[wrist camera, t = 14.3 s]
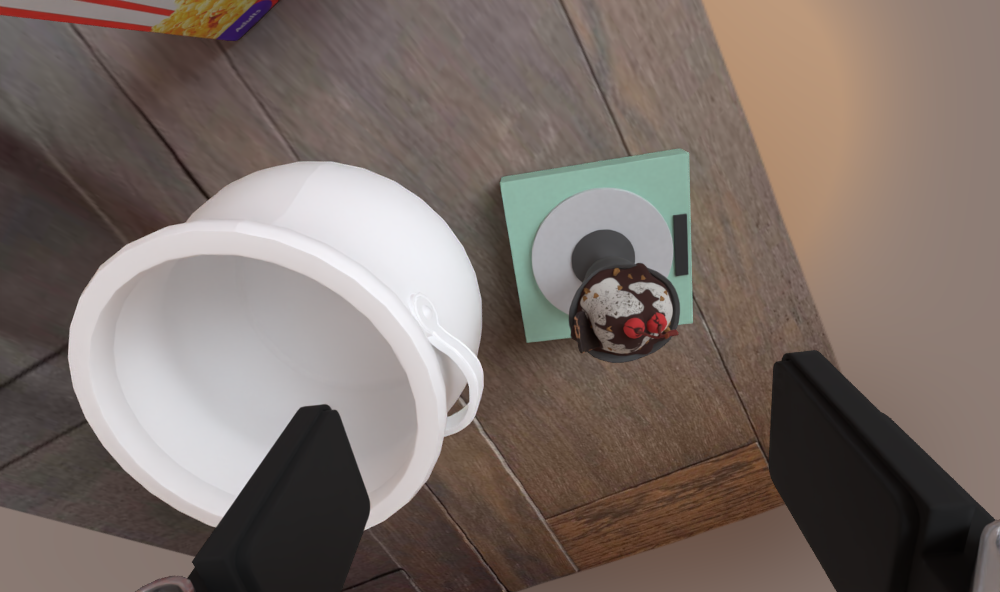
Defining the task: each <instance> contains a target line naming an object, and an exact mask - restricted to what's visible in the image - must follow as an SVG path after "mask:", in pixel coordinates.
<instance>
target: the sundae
mask: <svg viewBox="0 0 1000 592" xmlns="http://www.w3.org/2000/svg"><path fill="white" fill-rule="evenodd" d="M572 269H573V271H574V273H575V275H576V277H577V278H578V279H579V280H580V281H581V282H582V284H581V286H580V287H579V288H578V290H577V291H576V293H575V296H574V298H573V300H572V303H571V306H570V308H569V327H570V330H571V334H570V336H571V338H572V339H574V340H576V341H577V342H578V348H579V351H580V353H585V352H588V353H589V354H591V355H592V356H593V357H595V358H598V359H600V360H603V361H607V362H612V363H622V362H629V361H633V360H636V359H639V358H642V357H644V356H647V355H649V354H651V353H653V352H656V351H657V350H658V349H660V348H661V347H663V346H664V345H665V344H666V343H667V342H668V341H669V340H670V339H671V337H672V336H677V335H678V332H677V330H676V328H677V326H678V324H679V317H680V302H679V297H678V294H677V292H676V289H675V287H674V286H673V284H672V283H671V281H669V280H668V279H667V278H666V277H665V276H663V275H662V274H660V273H659V272H657V271H655V270H652V269H650V268H647V267H646V266H645V265H644V264H643V263H636V264H635V251H634V248H633V246H632V244H631V242H630V241H629V240H628V239H627V238H626V237H625V236H624V235H623V234H621V233H619V232H617V231H613V230H609V229H607V230H596V231H594V232H591V233H589V234H587V235H585V236H584V237H583V238H582V239H581V240H580V241H579V242H578V243H577V244H576V246H575V248H574V251H573V254H572Z"/></svg>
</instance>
